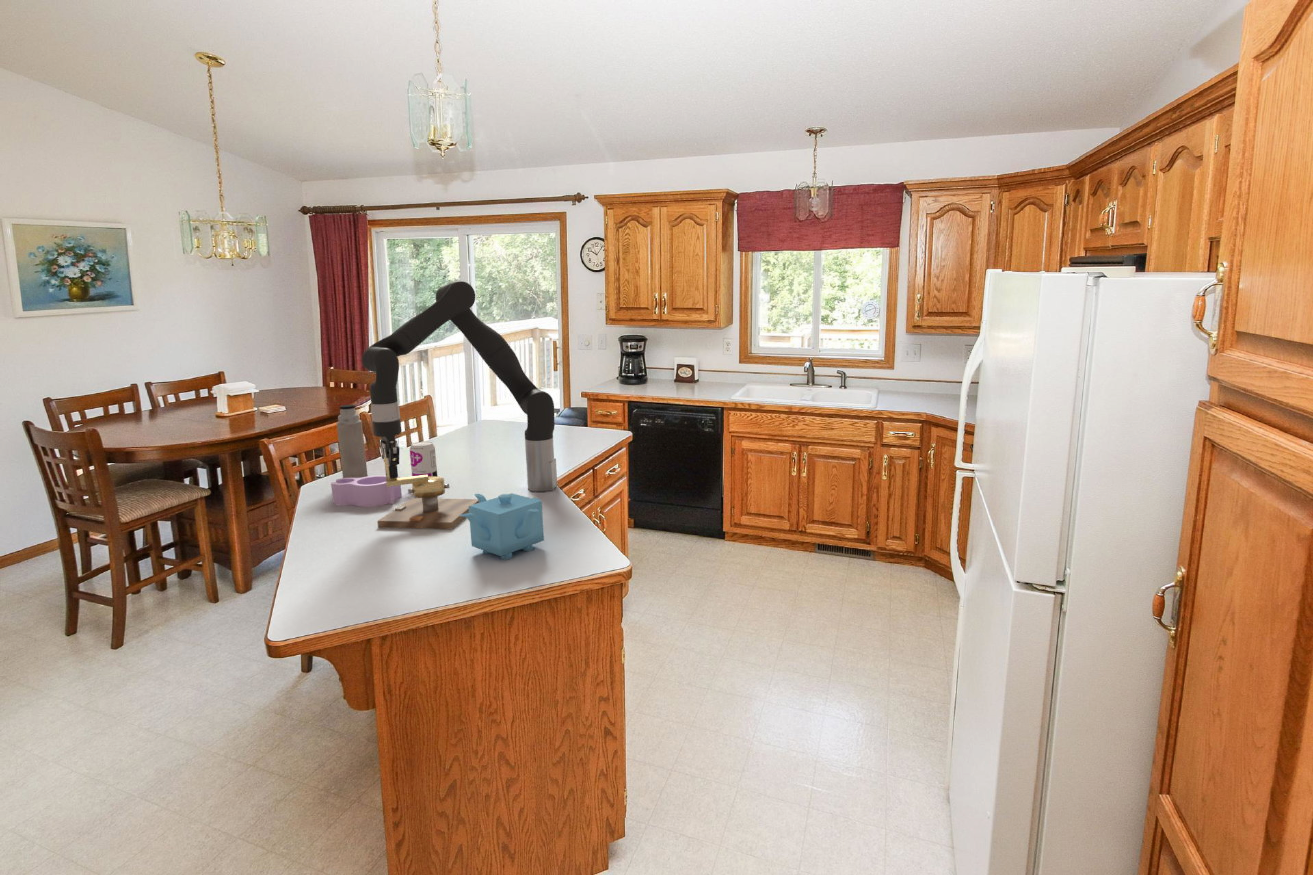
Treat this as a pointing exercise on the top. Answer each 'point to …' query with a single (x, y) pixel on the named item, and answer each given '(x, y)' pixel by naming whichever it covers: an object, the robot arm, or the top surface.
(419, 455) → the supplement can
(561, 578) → the top surface
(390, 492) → the lavender double cup holder
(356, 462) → the thermos bottle
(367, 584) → the top surface
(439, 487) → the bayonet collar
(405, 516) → the walnut base
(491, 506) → the teakettle
